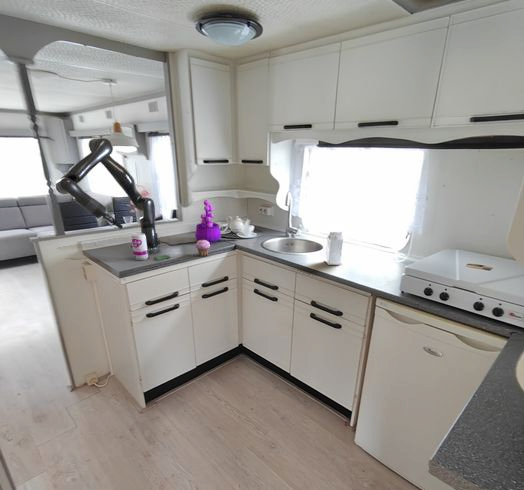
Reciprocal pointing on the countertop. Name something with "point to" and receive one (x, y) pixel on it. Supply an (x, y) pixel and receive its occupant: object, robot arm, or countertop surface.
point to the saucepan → (152, 249)
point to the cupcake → (203, 247)
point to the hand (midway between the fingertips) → (121, 227)
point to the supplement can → (139, 246)
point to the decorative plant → (207, 226)
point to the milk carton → (334, 248)
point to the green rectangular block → (161, 257)
